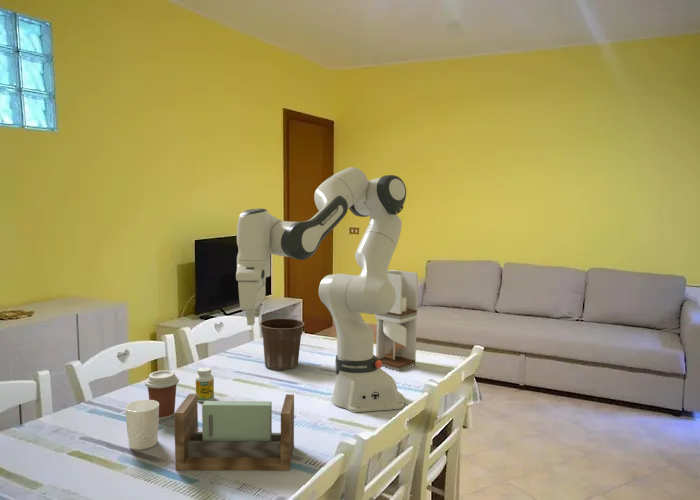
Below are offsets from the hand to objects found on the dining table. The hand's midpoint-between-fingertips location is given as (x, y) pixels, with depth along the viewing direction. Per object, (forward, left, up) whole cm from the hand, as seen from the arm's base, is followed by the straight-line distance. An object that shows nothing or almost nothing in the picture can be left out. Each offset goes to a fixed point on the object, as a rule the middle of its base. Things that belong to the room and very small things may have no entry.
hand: (253, 320), depth 146 cm
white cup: (+26, +12, -29) cm, 41 cm away
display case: (-44, -54, -29) cm, 76 cm away
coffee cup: (+27, -6, -29) cm, 40 cm away
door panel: (+1, +19, -28) cm, 33 cm away
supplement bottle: (+18, -18, -29) cm, 39 cm away
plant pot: (-2, -52, -29) cm, 60 cm away
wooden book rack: (+1, +19, -29) cm, 35 cm away
